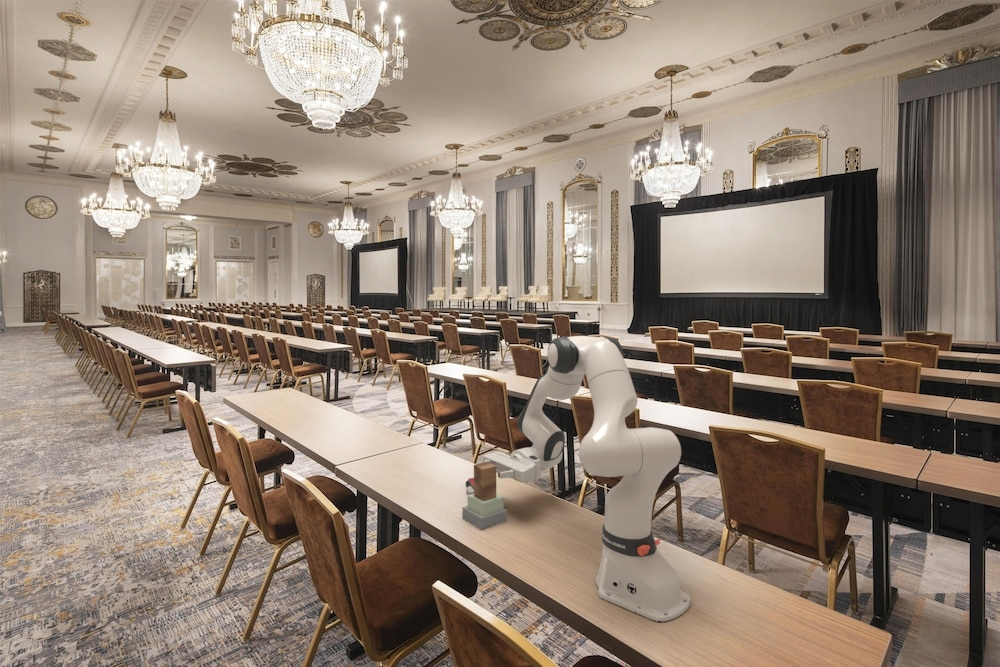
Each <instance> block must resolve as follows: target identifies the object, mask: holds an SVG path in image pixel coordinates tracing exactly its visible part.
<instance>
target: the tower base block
mask: <svg viewBox="0 0 1000 667" xmlns="http://www.w3.org/2000/svg"><path fill="white" fill-rule="evenodd" d="M461 513H462V520H464V519H465V520H464V521H465V522H467V521H468V522H467V523H469V524H470V525H472V524H473V526H474V525H475V526H476V528H477V527H478V528H477V529H479V530H480V529H481V530H480V531H483V530H486V529H489V528H491V526H492V527H494V526H493V525H495V526H497V525H496V524H498V525H500V524H499V523H501V524H503V523H502V522H504V523H506V522H505V521H507V522H508V509H506V508H504V507H503V510H501V511H498V512H495V513H492V514H489V515H486V516H482V515H480V514H478V513H476V512H474V511H473V510H471V509H469V508H468V505H466V506H463V507H462V512H461ZM475 526H474V527H475ZM488 527H489V528H488ZM485 528H486V529H485ZM482 529H483V530H482Z"/></svg>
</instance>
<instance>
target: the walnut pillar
mask: <svg viewBox="0 0 1000 667" xmlns="http://www.w3.org/2000/svg"><path fill="white" fill-rule="evenodd" d="M473 478H474V496H475V497H477V498H479V499H480V500H482V501H486V500H489V499H492V498H495V497H496V494H497V471H496V466H495V465H493V464H491V463H489V462H483V461H482V462H479V463H475V464H473Z"/></svg>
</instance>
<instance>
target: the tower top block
mask: <svg viewBox="0 0 1000 667" xmlns="http://www.w3.org/2000/svg"><path fill="white" fill-rule="evenodd" d="M467 506H468V508H469V509H471V510H473V511H474V512H476V513H478V514H480V515H482V516H486V515H489V514H492V513H495V512H498V511H501V510H503V508H504V496H502V495H500V494H498V493H496V497H495V498H492V499H489V500H486V501H482V500H480V499H479V498H477V497H475V496H474V494H471V495H467Z"/></svg>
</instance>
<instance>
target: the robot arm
mask: <svg viewBox="0 0 1000 667" xmlns="http://www.w3.org/2000/svg"><path fill="white" fill-rule="evenodd" d="M623 350H624V349H623V347H622V345H621V343H620V342H619V340H617V339H615V338H613V337H607V336H605V337H600V336H599V337H598V336H590V335H588V336H587V335H573V336H565V335H564V336H563V335H562V336H559V337H555V338H553V339H552V340H551V342H550V343H549V344H548V347H547V355H546V356H547V363H548V369H547V372H546V373H544V374H542V375H540V376H539V377H538V379H537V380H536V382H535V384H534V385H533V387H532V390H531V392H530V394H529V396H528V399H527V402H526V403H525V405H524V407H523V409H522V411H521V412H520V413H519V415H518V418H517V424H516V425H517V430H518V431H519V432H520V433H521V434H523V435H524V436H525V437H526V438H528V440H529V441H530V442H532V446H530V447H529V446H528V447H523V448H522V447H521V448H519V449H515V450H513V451H512V452H511V454H510V455H509V454H506V453H504V452H500V451H499V452H498V451H497V452H491V453H485V454H484V455H483V456H482V457H483V458H482V463H483V462H489V463H491V464H493V465H495V466H496V473H497V477H498V478H499V479H501V480H503V479H513V480H516V481H518V482H523V483H526V482H530V481H534V480H535V481H536V480H540V478H541V472H543V471H546V470H549V469H551V468H554V467H555V466H557V465H558V464H559V463H560V462H561V461H562V459H563V451H564V448H565V442H566V436H565V433H564V431H562V430H561V429H560V427H558V426H557V425H556V424H555V423H554V422H553V421H552V420H551V419H550V418H548V416H546V414H545V413H544V411H543V406H544V404H545V402H546V400H547V398H551V399H553V400H558V401H562V400H568V399H571V398H573V397H575V396H576V394H578V393H579V390H580V388H581V386H582V383H583V378H584V376H586V381H587V385H588V388H589V389H588V390H589V393H590V397H591V402H592V406H593V412H594V413H593V421H592V425H591V427H590V429H589V431H588V432H587V434H586V435H584V437H583V438H582V440H581V442H580V444H579V448H578V458H579V460H580V461H579V462H580V463H581V466H582V468H583V469H584V470H585V472H586V473H588V474H589V475H590V476H595V477H596V476H597V477H603V478H604V477H605V478H616V477H622V478H621V480H620V481H619V482H618V483H617V484H616V485H614V486H613V487H612V488H611V489H610V490H609V491H608V492H607V493H606V497H605V501H604V523H603V524H602V530H601V531H602V533H601V541H602V549H601V550H602V552H601V559H600V563H599V567H598V571H597V574H596V576H595V584H596V586H597V588H598V592H597V593H598V594H597V595H598V597H599V598H600V599H603V600H605V601H607V602H609V603H612V604H614V605H617V606H618V607H619V606H620V607H622V608H624V609H626V610H628V611H631V612H633V613H635V612H636V613H635V614H638V615H640V616H642V617H644V618H646V619H650V620H651V621H654V620H655V622H658V621H661V622H667V621H670V620H674V619H675V618H676V619H677V618H678V617H680V616H681V615H682V614H684V613H685V612H686V611H687V610H688V609H689V607H690V605H691V596H690V595H689V594H688V593H686V592H685V591H684V590H682V589H681V583H680V582H681V580H680V576H679V574H678V572H677V571H676V570H675V569H674V568H673V566H672V565H671V564H670V563H669V562H668V561H667V559H666V558H665V557H664V556H663V555H662V553H661V552H660V551H659V550H658V548H657V546H658V545H660V544H661V538H658V539H655V537H654V533H653V531H652V516H653V515H652V514H653V506H654V502H655V501H654V500H655V498H656V494H657V492H658V489H659V488H660V486H661V484H662V482H663V480H664V479H665V478H666V476H667V475H668V474H669V473H670V472H671V471H672V470H673V469H675V468H676V467H677V466H678V465H679V462H680V460H681V456H682V446H681V443H680V441H679V438H678V437H677V435H675V433H674V432H672V430H669V429H667V428H666V429H664V428H659V427H653V426H650V427H649V426H648V427H637V428H636V427H635V428H629V427H627V425H626V420H625V419H626V417H628V416H630V415H631V414H632V413H633V412H634V411H635V410H636V408H637V405H638V395H637V392H636V390H635V387H634V383H633V380H632V377H631V374H630V370H629V369H628V365H627V363H626V361H625V359H624V351H623Z"/></svg>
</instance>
